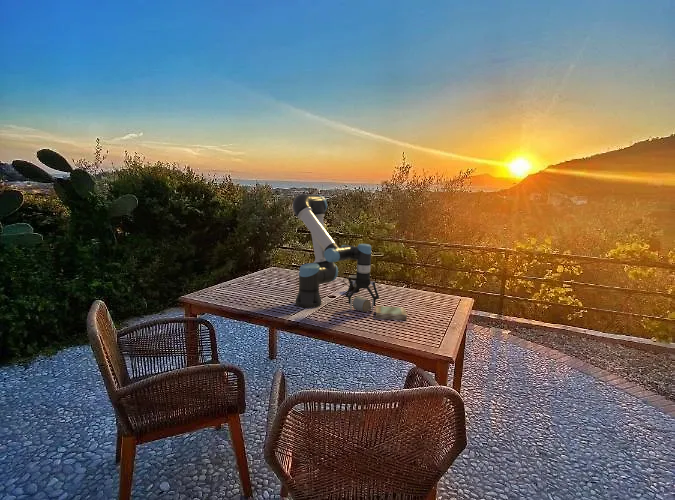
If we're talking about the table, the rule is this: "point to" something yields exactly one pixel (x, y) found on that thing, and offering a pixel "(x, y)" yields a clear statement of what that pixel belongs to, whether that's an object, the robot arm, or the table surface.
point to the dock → (391, 313)
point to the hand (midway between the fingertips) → (361, 310)
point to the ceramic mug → (361, 304)
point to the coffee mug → (351, 277)
